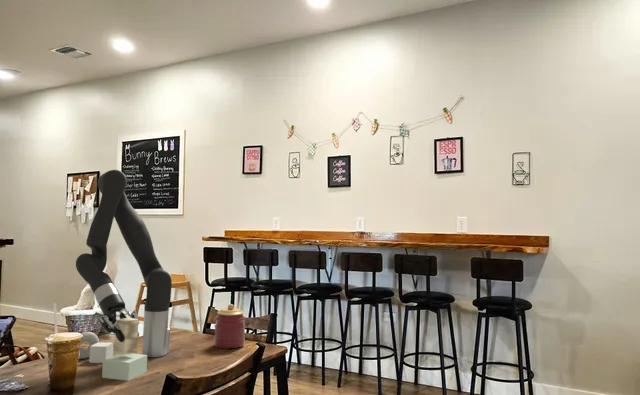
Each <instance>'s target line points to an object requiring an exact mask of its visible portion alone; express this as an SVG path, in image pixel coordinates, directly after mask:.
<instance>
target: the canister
mask: <svg viewBox="0 0 640 395" xmlns="http://www.w3.org/2000/svg"><path fill="white" fill-rule="evenodd" d="M244 313H245V312H244V311H243V310H241V308H237V307H235V306H234V304H232V303H229V304H228V305H227V307H226V308H221V309H220V310H219V311H217V312H216V314H217V315H216V316H214V320H215V324H214V340H213V344H214V345H215V346H216V347H215V346H214V347H215V348H217V347H219V348H218V349H221V348H236V349H239V348H238V347H241V348H242V346H243V347H244V346H245V343H246V339H245V335H246V332H245V331H246V330H245V329H246V324H245V320H246V319H247V318H246V316H244Z"/></svg>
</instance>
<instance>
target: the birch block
mask: <svg viewBox="0 0 640 395" xmlns="http://www.w3.org/2000/svg"><path fill="white" fill-rule="evenodd" d="M138 320H139V318H138V319H134V318H123V319H119V320H118V325H119V327H120V330H121V331H122V333H123V335H124V337H125V340H124V341H123V342H120V341H119V340H118V339H117V337H116V335H115V334H114V335H115V337H114V338H115V341H114V351H113V354H114V353H115V354H122V355H127V354H131V353H133V354H136V353H137V352H138V339H139V337H138V332H139V325H138Z"/></svg>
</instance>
